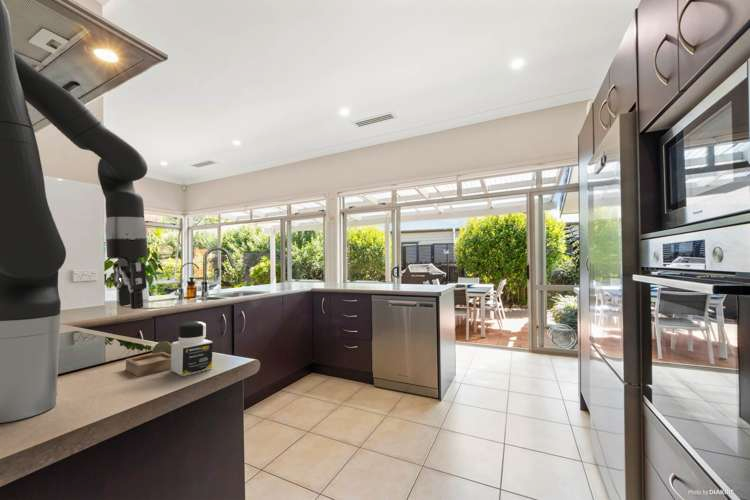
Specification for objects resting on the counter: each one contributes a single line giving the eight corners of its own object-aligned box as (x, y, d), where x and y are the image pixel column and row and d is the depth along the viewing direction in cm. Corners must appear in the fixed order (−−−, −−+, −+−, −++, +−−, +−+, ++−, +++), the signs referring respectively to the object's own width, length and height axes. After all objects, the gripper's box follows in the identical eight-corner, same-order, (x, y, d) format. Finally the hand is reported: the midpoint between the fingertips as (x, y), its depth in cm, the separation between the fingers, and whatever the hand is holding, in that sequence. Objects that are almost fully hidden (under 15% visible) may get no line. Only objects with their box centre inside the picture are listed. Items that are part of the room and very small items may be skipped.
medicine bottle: (182, 376, 77) (183, 326, 77) (170, 370, 81) (171, 323, 81) (212, 369, 82) (213, 322, 83) (199, 363, 87) (200, 319, 87)
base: (137, 376, 77) (137, 365, 77) (125, 369, 82) (126, 359, 82) (176, 367, 83) (176, 357, 84) (163, 361, 89) (163, 351, 89)
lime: (174, 359, 91) (175, 341, 91) (154, 362, 88) (154, 344, 88) (170, 355, 94) (170, 338, 94) (150, 359, 91) (151, 341, 91)
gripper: (98, 239, 76) (102, 307, 76) (115, 236, 67) (120, 312, 67) (136, 238, 82) (139, 302, 82) (156, 235, 73) (160, 306, 73)
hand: (130, 306), depth 75 cm, fingers open, 8 cm apart
